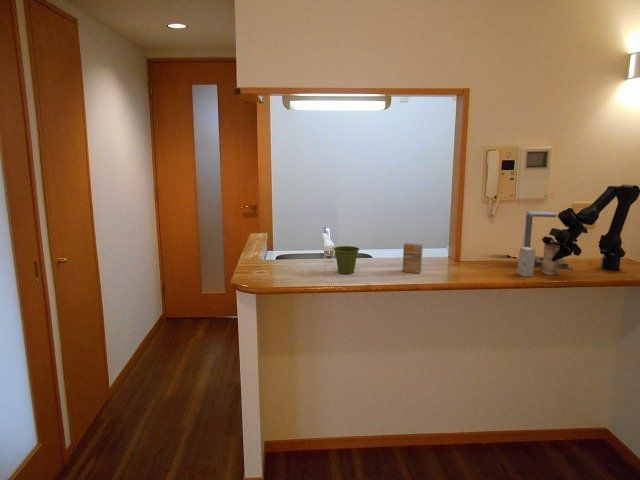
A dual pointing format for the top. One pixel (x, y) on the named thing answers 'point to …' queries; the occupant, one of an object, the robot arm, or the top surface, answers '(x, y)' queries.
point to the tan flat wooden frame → (562, 263)
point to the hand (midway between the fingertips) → (548, 259)
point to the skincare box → (526, 261)
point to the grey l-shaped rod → (529, 223)
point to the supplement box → (412, 258)
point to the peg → (550, 259)
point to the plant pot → (346, 258)
